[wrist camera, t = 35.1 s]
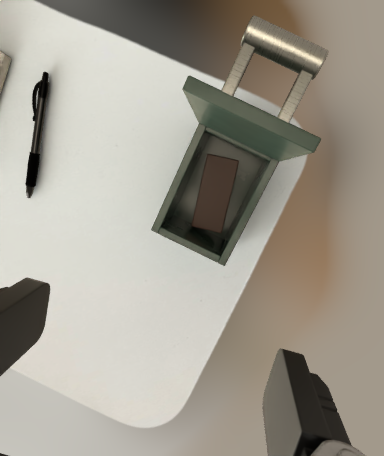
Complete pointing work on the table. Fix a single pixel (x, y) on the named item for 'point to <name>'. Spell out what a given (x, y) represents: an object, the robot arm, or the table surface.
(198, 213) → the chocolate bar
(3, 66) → the packaged product
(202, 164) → the green storage bin
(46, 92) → the pen
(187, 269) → the table surface
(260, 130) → the bin lid
